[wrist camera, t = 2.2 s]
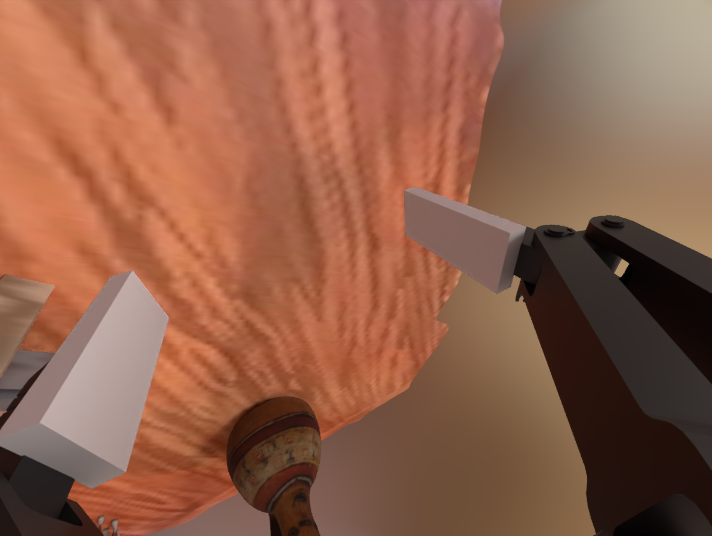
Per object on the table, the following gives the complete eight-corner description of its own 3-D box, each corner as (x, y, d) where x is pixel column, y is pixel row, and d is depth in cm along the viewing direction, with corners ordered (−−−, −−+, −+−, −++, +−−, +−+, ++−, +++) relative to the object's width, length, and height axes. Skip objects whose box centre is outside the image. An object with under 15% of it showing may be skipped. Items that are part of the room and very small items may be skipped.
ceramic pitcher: (315, 379, 63) (380, 532, 42) (299, 425, 71) (345, 571, 50) (228, 401, 52) (255, 625, 31) (221, 453, 61) (238, 654, 39)
